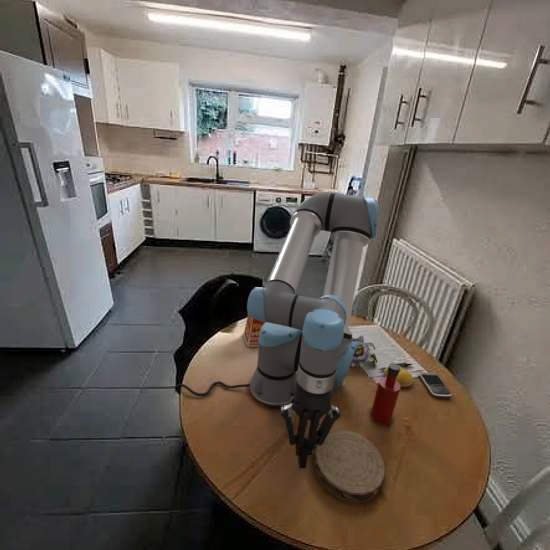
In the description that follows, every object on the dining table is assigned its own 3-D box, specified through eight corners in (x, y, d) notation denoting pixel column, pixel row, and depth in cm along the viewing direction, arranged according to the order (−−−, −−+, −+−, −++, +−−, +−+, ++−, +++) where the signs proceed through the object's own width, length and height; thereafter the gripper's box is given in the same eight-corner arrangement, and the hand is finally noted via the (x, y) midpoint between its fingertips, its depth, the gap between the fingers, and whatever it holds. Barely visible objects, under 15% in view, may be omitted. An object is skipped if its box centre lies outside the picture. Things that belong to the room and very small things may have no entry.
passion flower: (350, 378, 111) (334, 353, 107) (355, 356, 119) (340, 333, 116) (380, 373, 104) (364, 347, 101) (383, 351, 113) (368, 326, 110)
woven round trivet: (365, 435, 82) (367, 427, 81) (394, 498, 68) (398, 489, 66) (307, 440, 80) (308, 431, 78) (325, 506, 65) (327, 497, 64)
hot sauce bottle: (374, 424, 86) (388, 373, 79) (367, 408, 91) (380, 359, 84) (394, 424, 86) (409, 374, 79) (386, 409, 91) (400, 360, 85)
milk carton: (243, 334, 121) (245, 288, 114) (265, 332, 124) (269, 287, 116) (248, 348, 113) (251, 300, 106) (272, 345, 116) (276, 298, 109)
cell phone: (432, 398, 97) (433, 395, 96) (417, 374, 107) (418, 371, 107) (451, 399, 97) (453, 395, 97) (434, 375, 107) (435, 372, 107)
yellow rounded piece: (404, 392, 99) (407, 382, 97) (379, 376, 105) (382, 366, 103) (416, 381, 104) (419, 371, 102) (392, 367, 110) (394, 357, 108)
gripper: (284, 395, 59) (274, 478, 68) (351, 397, 60) (332, 479, 69) (281, 369, 66) (273, 448, 75) (341, 371, 67) (326, 448, 76)
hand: (301, 462), depth 72 cm, fingers closed
